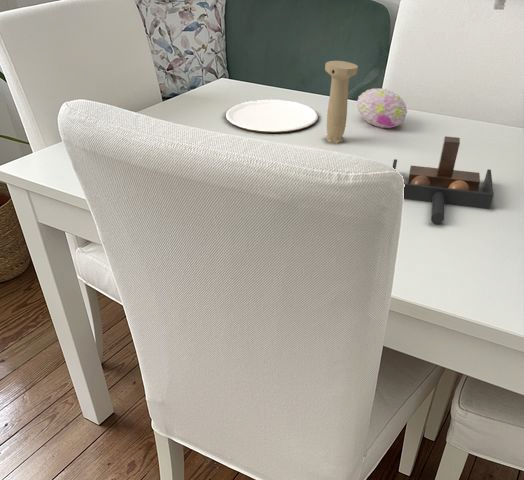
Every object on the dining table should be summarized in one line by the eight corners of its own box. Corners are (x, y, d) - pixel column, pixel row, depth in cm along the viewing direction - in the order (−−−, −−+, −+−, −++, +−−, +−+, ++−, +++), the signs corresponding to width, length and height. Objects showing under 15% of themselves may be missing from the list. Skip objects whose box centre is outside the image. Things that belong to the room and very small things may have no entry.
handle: (339, 149, 116) (346, 70, 106) (315, 141, 119) (320, 63, 110) (353, 143, 119) (362, 65, 109) (330, 135, 122) (336, 59, 112)
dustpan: (486, 185, 104) (490, 169, 102) (491, 234, 90) (496, 216, 88) (391, 174, 107) (394, 159, 105) (382, 220, 93) (384, 203, 91)
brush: (475, 188, 103) (488, 138, 97) (475, 198, 100) (489, 147, 94) (407, 181, 105) (416, 131, 99) (406, 190, 102) (415, 140, 96)
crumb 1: (430, 189, 96) (428, 202, 100) (433, 172, 98) (431, 185, 101) (408, 187, 97) (407, 200, 101) (412, 170, 98) (411, 183, 102)
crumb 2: (467, 203, 96) (466, 203, 100) (472, 181, 95) (470, 181, 99) (446, 200, 97) (444, 200, 100) (450, 178, 96) (448, 179, 99)
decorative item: (371, 90, 130) (387, 63, 121) (402, 127, 131) (421, 103, 121) (343, 112, 128) (358, 86, 119) (375, 149, 129) (392, 127, 119)
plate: (208, 125, 126) (208, 120, 125) (252, 99, 140) (252, 94, 139) (294, 142, 119) (294, 136, 118) (331, 113, 133) (331, 107, 132)
